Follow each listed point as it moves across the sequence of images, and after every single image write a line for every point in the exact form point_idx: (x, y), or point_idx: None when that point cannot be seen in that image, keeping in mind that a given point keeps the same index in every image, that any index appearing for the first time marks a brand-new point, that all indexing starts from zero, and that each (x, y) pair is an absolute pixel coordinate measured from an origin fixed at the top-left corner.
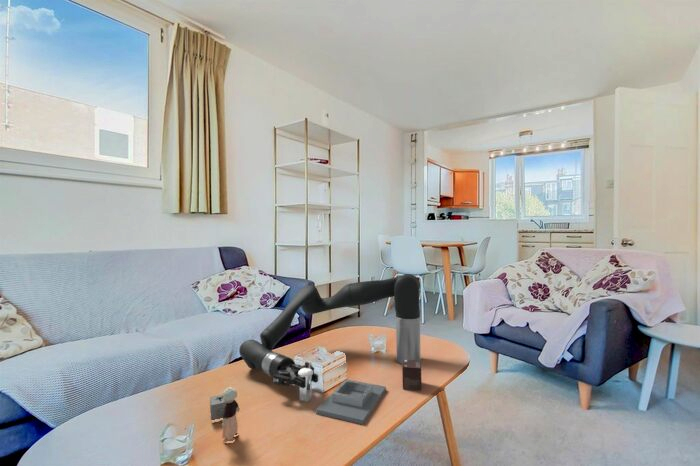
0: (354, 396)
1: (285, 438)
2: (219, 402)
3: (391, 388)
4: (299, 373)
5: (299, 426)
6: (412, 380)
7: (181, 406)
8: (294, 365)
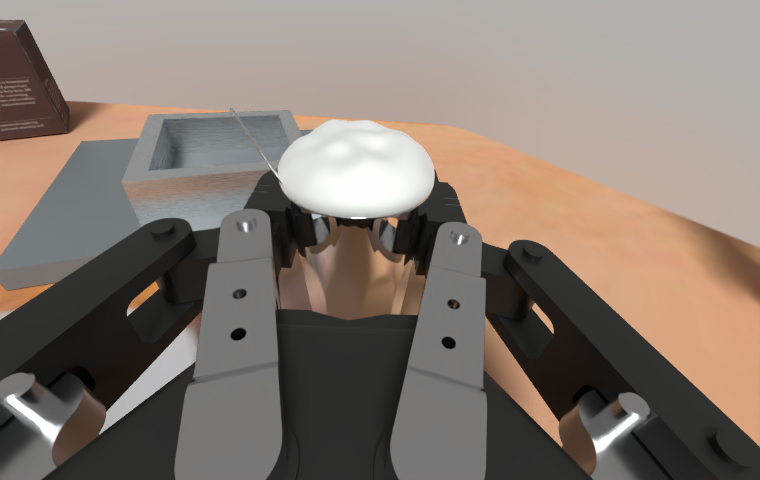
0: (285, 122)
1: (568, 215)
2: None
3: (63, 152)
4: (432, 167)
5: (502, 221)
6: (51, 83)
7: None
8: (257, 412)
